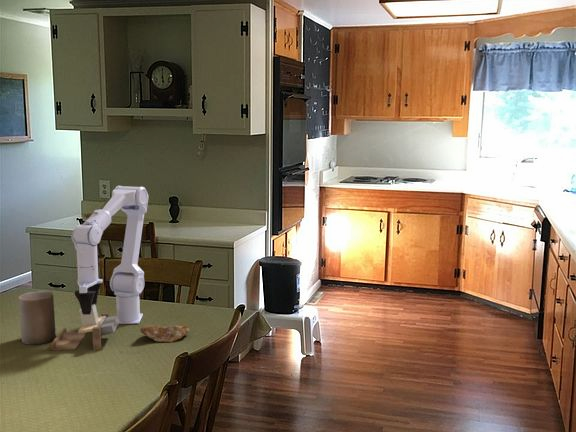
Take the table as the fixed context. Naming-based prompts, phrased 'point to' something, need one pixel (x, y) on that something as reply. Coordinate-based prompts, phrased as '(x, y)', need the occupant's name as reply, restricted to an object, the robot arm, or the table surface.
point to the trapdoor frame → (76, 338)
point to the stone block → (89, 317)
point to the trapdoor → (103, 325)
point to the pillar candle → (37, 317)
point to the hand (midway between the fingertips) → (89, 310)
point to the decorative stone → (165, 333)
